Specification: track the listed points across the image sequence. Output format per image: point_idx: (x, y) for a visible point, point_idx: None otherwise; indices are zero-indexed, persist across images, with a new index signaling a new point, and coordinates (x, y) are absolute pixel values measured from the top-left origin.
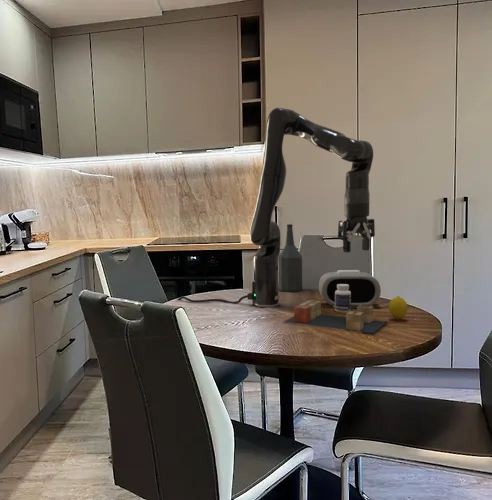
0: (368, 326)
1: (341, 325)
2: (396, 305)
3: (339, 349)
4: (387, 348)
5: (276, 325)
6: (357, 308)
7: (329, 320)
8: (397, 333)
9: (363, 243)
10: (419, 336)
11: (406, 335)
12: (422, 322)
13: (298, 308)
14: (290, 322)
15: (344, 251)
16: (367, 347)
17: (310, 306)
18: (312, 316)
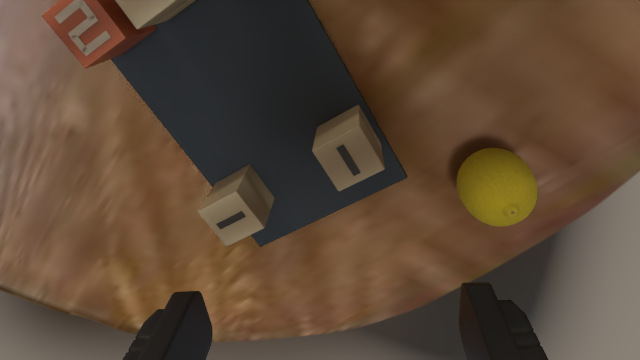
0: (303, 191)
1: (230, 141)
2: (467, 209)
3: (100, 289)
4: None
5: (5, 2)
6: (313, 149)
7: (235, 60)
8: (331, 264)
9: (482, 355)
10: (357, 303)
11: (336, 285)
12: None
13: (60, 36)
14: None
15: (178, 299)
16: None
17: (135, 25)
18: (170, 15)
